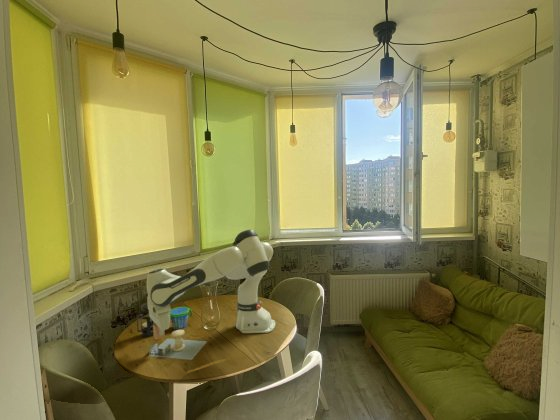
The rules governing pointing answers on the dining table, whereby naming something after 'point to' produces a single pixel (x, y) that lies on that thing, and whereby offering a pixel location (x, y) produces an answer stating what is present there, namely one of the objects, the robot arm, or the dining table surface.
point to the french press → (147, 325)
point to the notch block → (159, 350)
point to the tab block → (157, 332)
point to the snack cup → (180, 317)
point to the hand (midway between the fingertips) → (159, 332)
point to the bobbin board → (183, 353)
